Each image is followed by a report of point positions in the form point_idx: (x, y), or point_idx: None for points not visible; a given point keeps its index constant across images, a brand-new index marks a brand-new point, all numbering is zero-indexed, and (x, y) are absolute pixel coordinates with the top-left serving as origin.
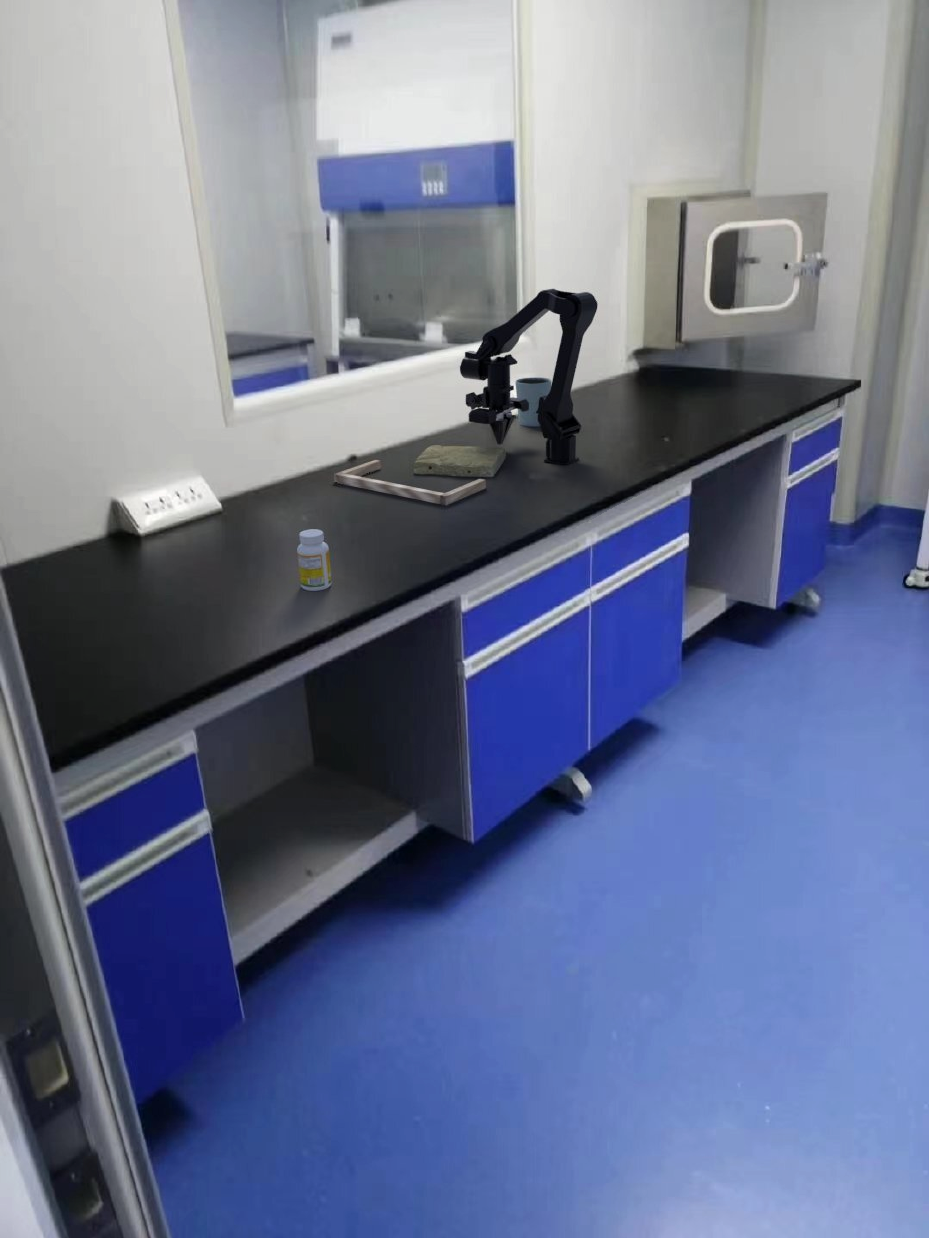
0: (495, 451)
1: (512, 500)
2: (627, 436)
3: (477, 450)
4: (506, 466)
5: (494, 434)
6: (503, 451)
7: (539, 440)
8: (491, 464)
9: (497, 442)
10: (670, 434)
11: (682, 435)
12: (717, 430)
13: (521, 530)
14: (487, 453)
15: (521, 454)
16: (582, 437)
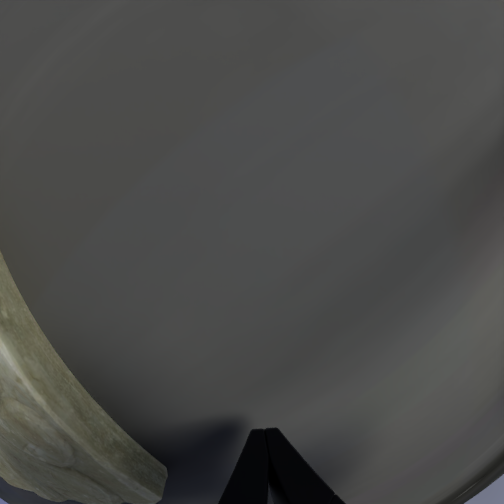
0: (65, 494)
1: (17, 496)
2: (492, 457)
3: (3, 434)
4: None
5: (224, 492)
6: (123, 500)
7: (481, 388)
8: (12, 484)
9: (247, 442)
10: (493, 469)
11: (485, 478)
12: (500, 471)
13: (3, 498)
14: (28, 473)
15: None
16: (498, 427)
